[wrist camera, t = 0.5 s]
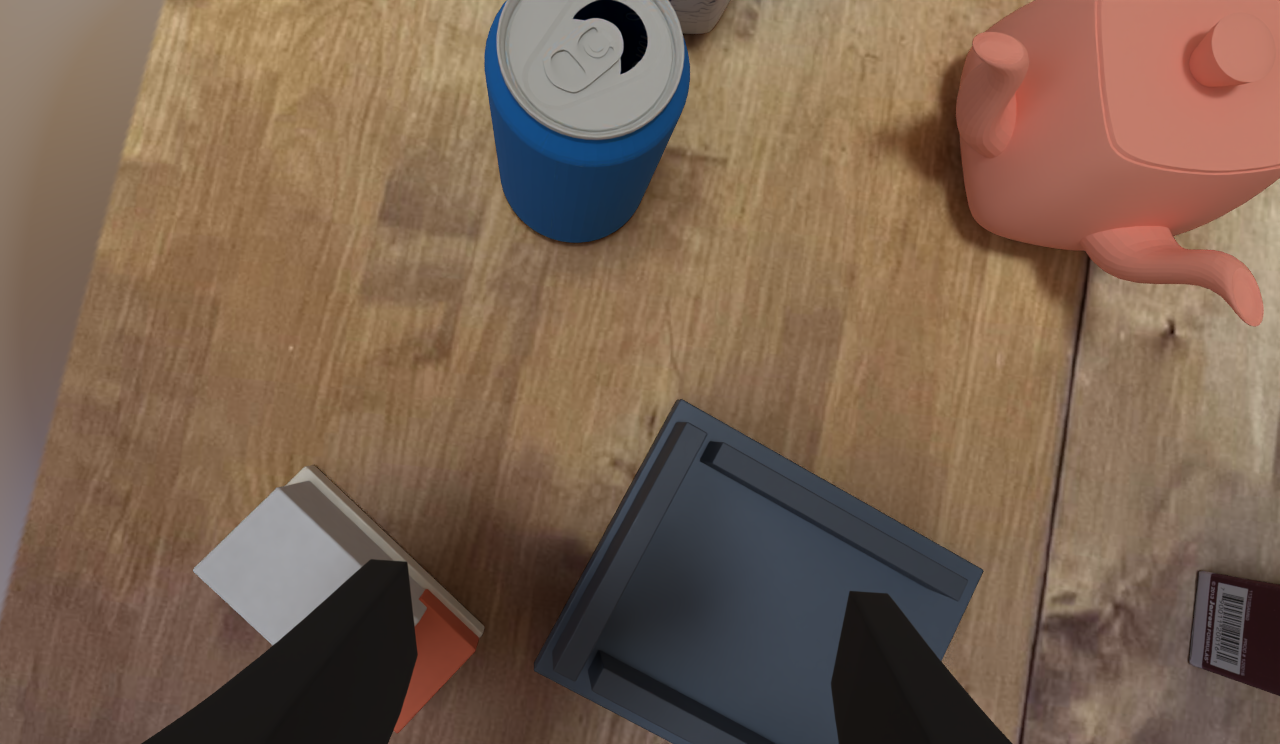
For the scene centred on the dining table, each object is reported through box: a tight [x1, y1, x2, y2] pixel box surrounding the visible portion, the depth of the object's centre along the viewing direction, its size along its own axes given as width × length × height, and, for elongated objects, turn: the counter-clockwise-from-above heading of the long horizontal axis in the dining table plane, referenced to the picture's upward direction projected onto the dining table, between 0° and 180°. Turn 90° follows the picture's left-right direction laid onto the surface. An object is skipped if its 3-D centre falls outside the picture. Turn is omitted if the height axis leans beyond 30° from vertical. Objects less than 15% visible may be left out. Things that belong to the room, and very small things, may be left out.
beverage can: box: [485, 0, 690, 243], centre depth 29 cm, size 6×6×12 cm
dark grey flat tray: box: [534, 399, 983, 744], centre depth 33 cm, size 16×13×4 cm
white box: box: [193, 465, 484, 733], centre depth 30 cm, size 10×5×5 cm, turn 46°
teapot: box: [956, 0, 1280, 326], centre depth 32 cm, size 14×14×11 cm
